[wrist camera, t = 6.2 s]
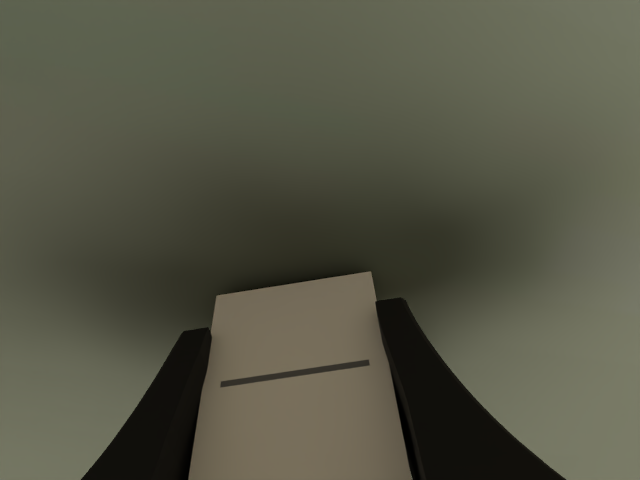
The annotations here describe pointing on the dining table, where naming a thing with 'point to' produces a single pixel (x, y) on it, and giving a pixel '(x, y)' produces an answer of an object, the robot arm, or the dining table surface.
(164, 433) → the robot arm
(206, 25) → the dining table surface
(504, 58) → the dining table surface
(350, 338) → the domino
